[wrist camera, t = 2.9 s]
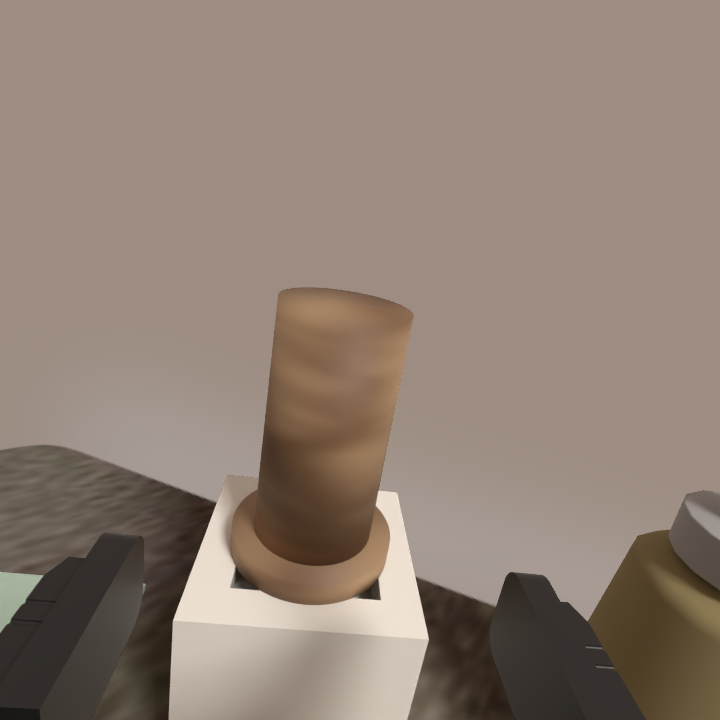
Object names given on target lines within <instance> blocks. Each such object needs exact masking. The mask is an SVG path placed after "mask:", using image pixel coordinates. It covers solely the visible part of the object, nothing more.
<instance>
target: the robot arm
mask: <svg viewBox="0 0 720 720" xmlns="http://www.w3.org/2000/svg"><path fill="white" fill-rule="evenodd" d="M143 561H144V540H143V537H142V536H133V535H123V534H112V533H104V534H102V535H101V536H100V538H99V539H98V540H97V542H96V543H95V545H94V546H93V548H92V549H91V551H90V552H89V554H88V555H87V556H86V558H75V557H69V558H67V559H66V560H64V561H63V562H62V563H60V564H59V565H58V566H56V567H55V568H53V569H52V570H51V571H49V572H48V573H46V574H45V575H44V576H43V577H42V578H41V580H40V581H39V582H38V584H37V585H36V586H35V588H34V589H33V590H32V592H31V593H30V594H29V596H28V597H27V598H26V601H25V603H24V604H22V605H21V606H20V607H19V609H18V610H17V611H16V613H15V614H14V615H13V617H12V618H11V621H10V623H9V624H7V625H6V626H5V627H4V628H3V630H2V631H1V632H0V720H91V719H92V717H93V715H94V713H95V711H96V709H97V706H98V704H99V702H100V700H101V698H102V695H103V693H104V691H105V689H106V687H107V685H108V682H109V680H110V678H111V676H112V674H113V672H114V669H115V667H116V665H117V663H118V661H119V659H120V656H121V654H122V652H123V650H124V648H125V645H126V643H127V641H128V639H129V637H130V635H131V632H132V630H133V628H134V626H135V623H136V621H137V618H138V615H139V611H140V607H141V602H142V596H143ZM490 645H491V651H492V655H493V658H494V661H495V664H496V666H497V669H498V672H499V675H500V678H501V681H502V684H503V687H504V690H505V693H506V696H507V698H508V701H509V704H510V707H511V710H512V713H513V716H514V719H515V720H646V719H645V717H644V715H643V714H642V712H641V710H640V709H639V707H638V705H637V704H636V702H635V700H634V699H633V697H632V695H631V693H630V692H629V690H628V688H627V687H626V685H625V683H624V682H623V680H622V678H621V677H620V675H619V673H618V672H617V671H615V670H614V665H613V663H612V661H611V660H610V658H609V656H608V655H607V653H606V651H603V649H602V645H601V643H600V641H599V640H598V638H597V636H596V634H595V633H594V631H593V629H592V628H591V626H590V624H589V623H588V622H587V621H586V620H585V619H584V618H583V617H582V616H581V615H580V614H579V613H578V612H577V611H576V610H575V609H574V608H573V607H572V606H571V605H570V604H569V603H568V602H560V600H559V599H558V597H557V595H556V593H555V591H554V589H553V588H552V586H551V584H550V582H549V581H548V580H547V578H546V577H545V576H543V575H536V574H525V573H514V572H510V573H509V574H508V575H507V576H506V578H505V581H504V584H503V587H502V590H501V593H500V596H499V600H498V603H497V606H496V609H495V612H494V615H493V618H492V621H491V626H490Z"/></svg>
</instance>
